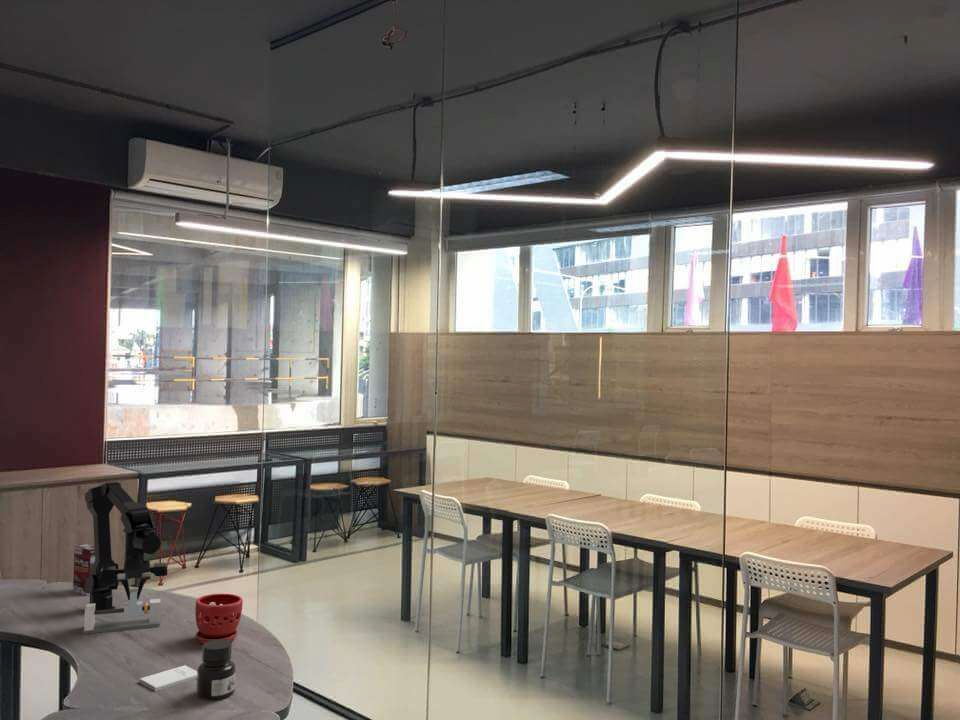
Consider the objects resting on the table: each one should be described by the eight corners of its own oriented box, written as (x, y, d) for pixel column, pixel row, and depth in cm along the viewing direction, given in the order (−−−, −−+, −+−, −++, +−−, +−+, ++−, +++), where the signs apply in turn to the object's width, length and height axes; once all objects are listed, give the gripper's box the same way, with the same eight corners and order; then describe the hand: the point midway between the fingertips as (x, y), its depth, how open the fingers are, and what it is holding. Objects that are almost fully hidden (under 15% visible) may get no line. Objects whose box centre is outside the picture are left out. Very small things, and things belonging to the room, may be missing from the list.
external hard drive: (138, 684, 195) (184, 670, 205) (155, 693, 190) (201, 678, 200) (138, 678, 195) (184, 664, 205) (155, 687, 190) (201, 672, 200)
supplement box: (71, 591, 269) (73, 546, 270) (84, 588, 274) (86, 543, 274) (88, 595, 265) (89, 549, 266) (100, 592, 270) (102, 546, 270)
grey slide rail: (82, 634, 228) (83, 610, 228) (84, 626, 235) (85, 603, 235) (159, 626, 236) (160, 603, 236) (159, 619, 243) (160, 597, 243)
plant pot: (214, 650, 218) (215, 608, 218) (184, 641, 225) (186, 599, 225) (250, 637, 229) (252, 597, 229) (221, 628, 236) (222, 589, 236)
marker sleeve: (123, 617, 234) (124, 592, 234) (124, 614, 237) (124, 589, 237) (141, 616, 236) (142, 591, 236) (141, 612, 239) (142, 588, 239)
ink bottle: (219, 704, 184) (221, 653, 184) (187, 699, 186) (189, 649, 186) (242, 688, 193) (244, 640, 193) (212, 683, 196) (213, 635, 196)
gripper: (99, 556, 226) (97, 610, 226) (168, 552, 233) (166, 604, 233) (102, 548, 236) (100, 599, 236) (167, 544, 243) (166, 594, 243)
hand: (133, 599), depth 237 cm, fingers closed on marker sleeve, 2 cm apart
